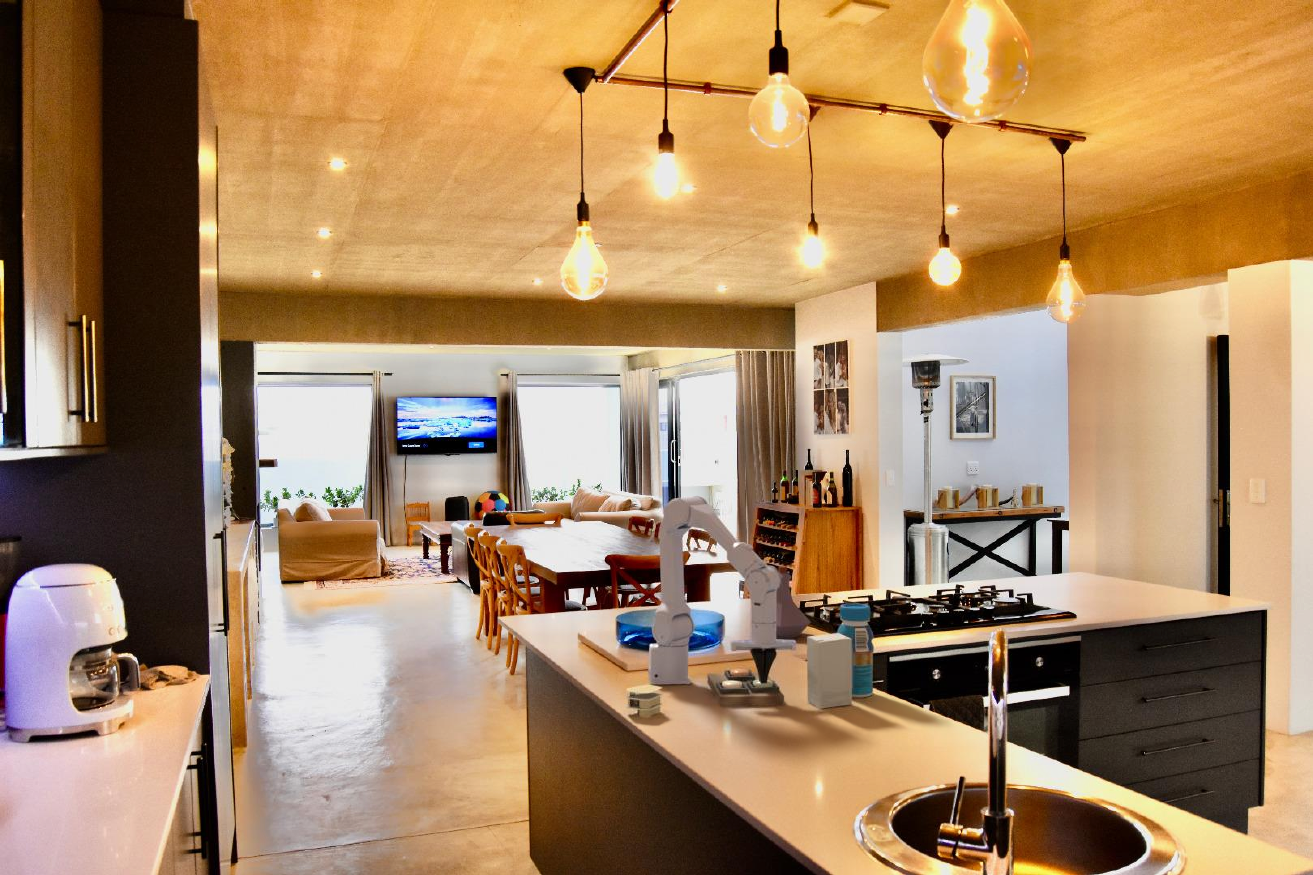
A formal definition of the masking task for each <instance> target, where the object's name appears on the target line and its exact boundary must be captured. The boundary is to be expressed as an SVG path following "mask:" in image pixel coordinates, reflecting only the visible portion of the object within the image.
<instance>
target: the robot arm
mask: <svg viewBox="0 0 1313 875" xmlns="http://www.w3.org/2000/svg"><path fill="white" fill-rule="evenodd" d="M659 525H660V526H659V527H658V528H659V529H658V530H659V531H658V533H659V536H658V538H659V563H660V564H659V565H660V566H659V568H660V591H661V592H660V595H661V596H660V597H661V600H660V601H661V603H660V605H659V606H658V608H656V610H655V612H654V621H653V624H652V626H651V632H652V637H653V638H654V640H655V641H656V643H649V646H648V647H649V648H648V650H649V651H648V667H647V670H648V671H647V672H648V673H647V674H648V679H649V681H650V685H653V686H656V685H691V684H692V680H691V678H690V676H689V642H690V638H691V637H692V635H693V634H694V632H695V621H694V619H693V617H692V613H691V612H692V611H691V608H690V606H689V605H688V604H687V603H686V601H685V600H686V599H685V579H684V577H685V576H684V575H685V574H684V572H685V571H684V550H683V549H684V547H683V543H684V542H683V537H684V535H685V534H687V532H688V531H689V530H690V529H691V528H695V529H696V528H697V529H702V530H704V531H705V532H706V533H707V534H708V535H709V536H710V537H711V538H712V539H713V540H714V541H715V542H716V543H718V545H719V546H721V548H722V549H723V550H724V551H726V560H727V561H728V563H730V565H731V566H732V567H733V568H734V569H735V570H736V571H737V572H738V573H739V574H740V576H741V577H742V578H743V579H744V580H745V587H746V589H747V591H748V593H749V600H750V638H749V639H748V638H747V639H739V640H730V641H729V642H730V643H729V644H730V646H729V647H730V648H729V649H730V651H731V652H737V651H750V654H751V656H752V659H753V661H754V664H755V667H756V671H757V673H758V676H759V682H760V683H767V679H768V676H769V674H770V671H771V668H772V665H773V663H774V661H775V659H776V657H777V654H778V653H777V650H779V651H780V650H782V651H785V650H788V651H790V650H791V651H796V650H797V641H796V640H795V639H778V638H776V591H775V590H777V589H778V588H779V587H780V584H781V576H780V574H779V570H778V568H776V567H775V566H773V565H768V564H767V562H766V561H765V560H763V559H761V558H760V557H759V555H758V554H757V553H756V552H755V551H754V550H753V549H754V546H753V545H751V544H750V543H749V544H747V543H746V542H744V541H743V542H742V541H741V542H740V541H738V539H736V537H734V535H733V533H731V532H730V530H729V529H728V528H727V526H726V525H725V524H724V522H723V521H722V520H721V519H720V518H719V516H718V515H717V514H716V513H715V510H714V507H713V506H712V505H711V504H709V503H708V502H707V500H706V499H705V498H704V497H702V496H698V495H696V496H692V497H677V498H672V499H671V500H670V501H668V502H667V503H666V505H664V506H663V517H662V519H661V522H660V524H659Z"/></svg>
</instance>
